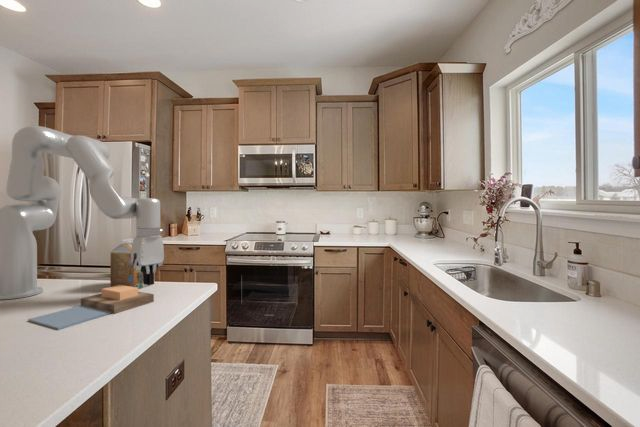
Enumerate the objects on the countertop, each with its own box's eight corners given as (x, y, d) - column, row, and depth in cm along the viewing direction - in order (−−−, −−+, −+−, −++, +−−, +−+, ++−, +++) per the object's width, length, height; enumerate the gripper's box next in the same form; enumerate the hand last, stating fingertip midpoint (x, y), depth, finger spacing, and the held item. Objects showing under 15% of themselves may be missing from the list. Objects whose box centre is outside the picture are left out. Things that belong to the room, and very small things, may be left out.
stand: (81, 306, 96) (81, 298, 96) (121, 295, 108) (121, 288, 108) (114, 313, 90) (114, 305, 90) (153, 301, 102) (153, 294, 102)
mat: (28, 321, 83) (28, 319, 83) (82, 306, 95) (82, 305, 95) (58, 329, 78) (58, 327, 78) (111, 313, 90) (111, 311, 90)
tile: (101, 296, 98) (101, 288, 98) (119, 291, 104) (120, 284, 104) (120, 300, 95) (120, 292, 95) (138, 295, 100) (138, 287, 100)
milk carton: (134, 290, 114) (134, 240, 114) (110, 288, 116) (110, 239, 116) (154, 284, 124) (155, 237, 124) (132, 282, 126) (132, 236, 126)
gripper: (159, 231, 116) (159, 278, 117) (120, 234, 103) (121, 288, 103) (173, 231, 113) (173, 280, 114) (135, 235, 100) (136, 290, 100)
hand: (148, 284), depth 108 cm, fingers closed
